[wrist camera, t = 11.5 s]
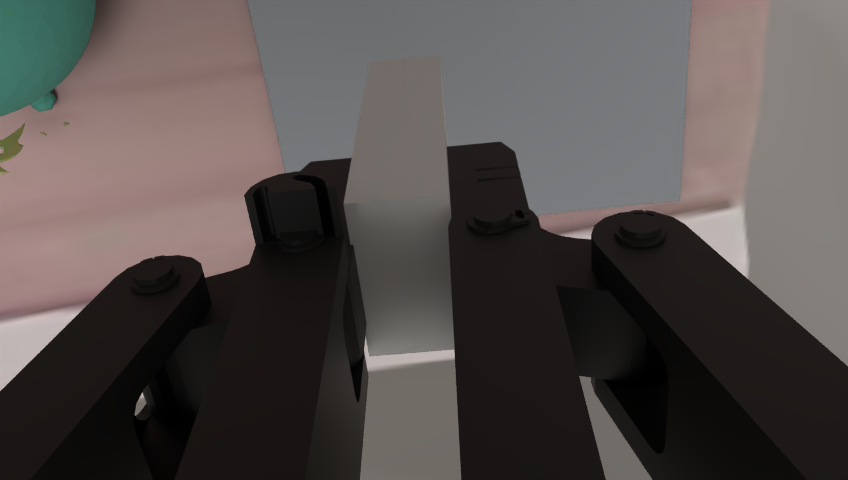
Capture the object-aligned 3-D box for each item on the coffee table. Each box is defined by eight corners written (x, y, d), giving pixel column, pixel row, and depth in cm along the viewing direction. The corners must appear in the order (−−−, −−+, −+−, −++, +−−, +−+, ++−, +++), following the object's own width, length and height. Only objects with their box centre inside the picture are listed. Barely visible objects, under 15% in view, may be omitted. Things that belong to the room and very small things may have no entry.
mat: (208, -183, 30) (206, -182, 30) (702, -247, 29) (705, -246, 29) (300, 235, 39) (300, 238, 39) (678, 197, 38) (680, 200, 38)
